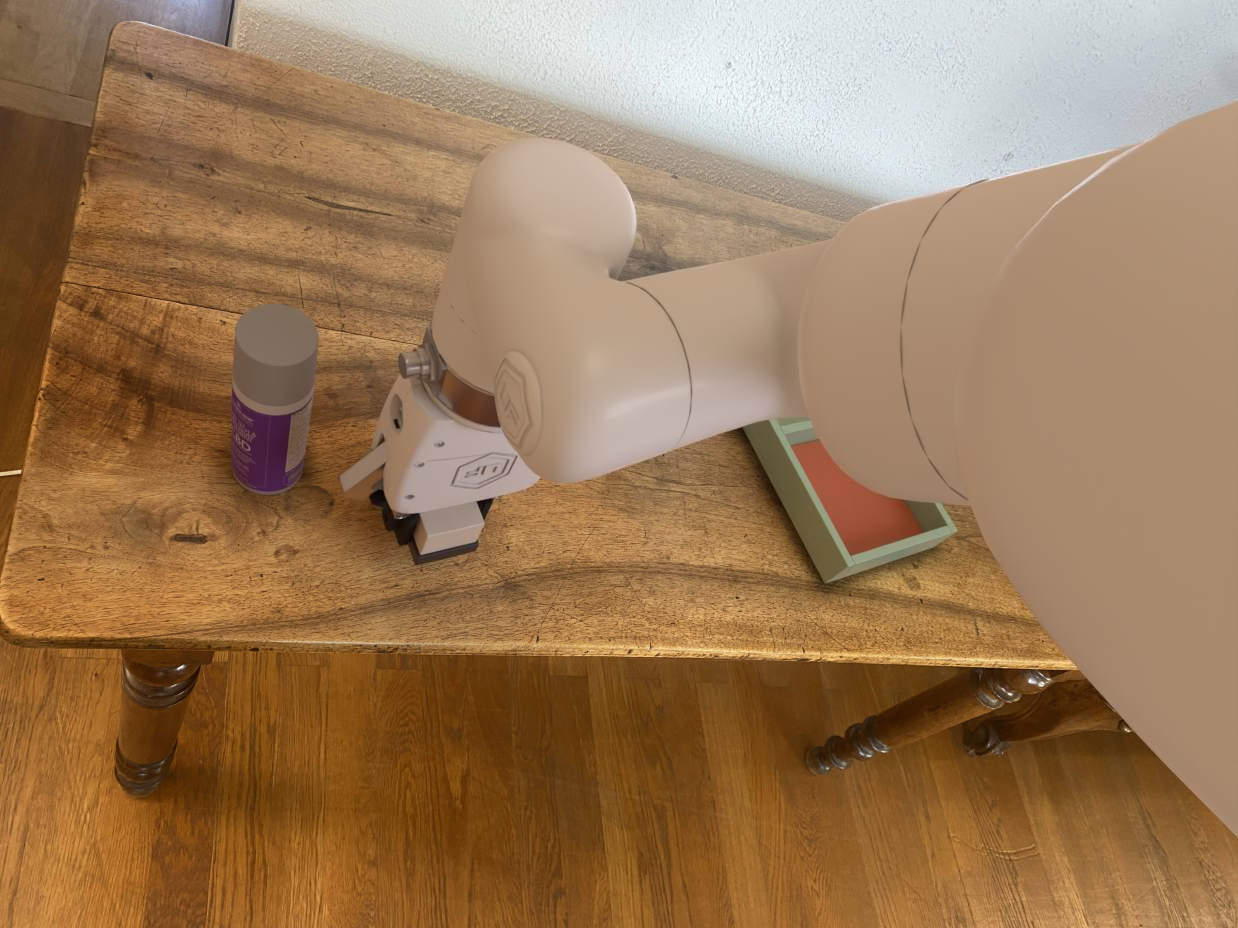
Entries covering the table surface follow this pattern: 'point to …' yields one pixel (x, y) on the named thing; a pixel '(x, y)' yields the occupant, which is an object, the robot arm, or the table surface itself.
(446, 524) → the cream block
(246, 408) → the container
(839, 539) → the tray
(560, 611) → the table surface
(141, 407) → the table surface
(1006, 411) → the robot arm
